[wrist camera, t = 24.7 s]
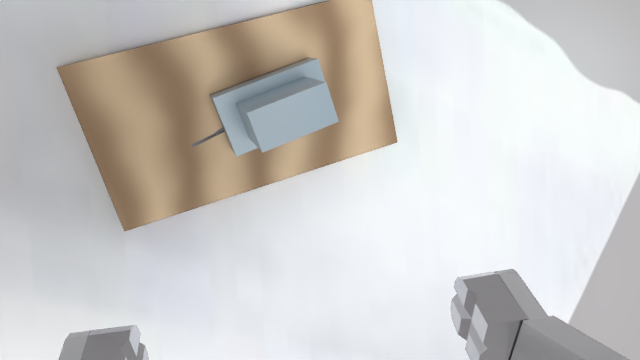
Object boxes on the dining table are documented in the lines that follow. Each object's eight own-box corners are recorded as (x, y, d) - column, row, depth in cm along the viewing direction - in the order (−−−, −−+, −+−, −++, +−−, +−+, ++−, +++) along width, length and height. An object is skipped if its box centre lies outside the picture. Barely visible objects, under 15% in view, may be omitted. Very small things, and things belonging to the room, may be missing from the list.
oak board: (125, 225, 42) (124, 231, 40) (60, 66, 37) (56, 67, 36) (390, 139, 48) (397, 142, 46) (363, -8, 43) (370, -10, 41)
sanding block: (231, 149, 41) (247, 173, 34) (209, 94, 40) (220, 107, 32) (325, 111, 43) (360, 126, 35) (307, 57, 41) (341, 60, 33)
